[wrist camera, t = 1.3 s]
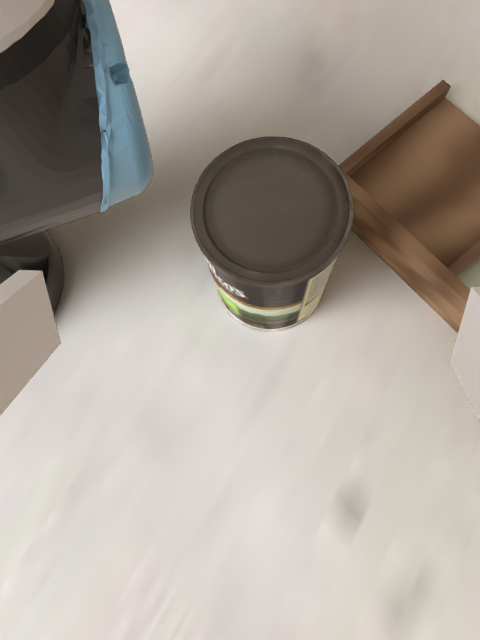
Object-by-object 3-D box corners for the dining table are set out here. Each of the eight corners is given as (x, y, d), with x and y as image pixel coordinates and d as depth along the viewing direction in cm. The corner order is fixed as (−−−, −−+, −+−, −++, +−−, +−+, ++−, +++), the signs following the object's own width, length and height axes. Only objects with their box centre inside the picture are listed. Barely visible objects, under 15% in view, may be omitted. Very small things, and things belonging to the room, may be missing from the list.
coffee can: (247, 352, 40) (234, 314, 26) (198, 258, 42) (163, 178, 28) (346, 300, 40) (386, 237, 26) (293, 211, 42) (303, 110, 29)
